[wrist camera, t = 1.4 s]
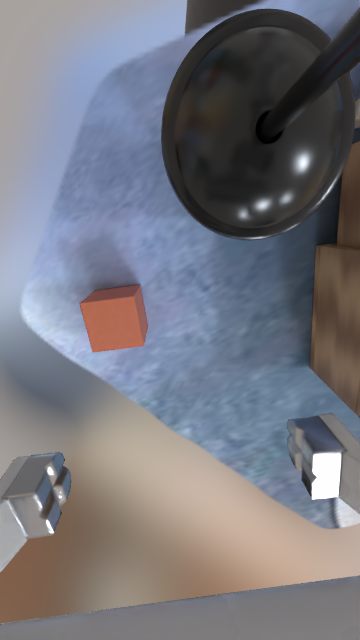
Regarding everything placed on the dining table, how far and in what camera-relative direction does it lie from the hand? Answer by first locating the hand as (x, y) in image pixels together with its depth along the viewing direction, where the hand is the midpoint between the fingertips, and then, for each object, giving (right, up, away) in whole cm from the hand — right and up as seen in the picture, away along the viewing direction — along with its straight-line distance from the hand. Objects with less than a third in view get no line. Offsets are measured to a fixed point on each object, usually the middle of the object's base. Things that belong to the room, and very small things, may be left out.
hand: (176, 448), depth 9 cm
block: (-6, +6, +17) cm, 19 cm away
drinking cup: (+3, +16, +14) cm, 22 cm away
